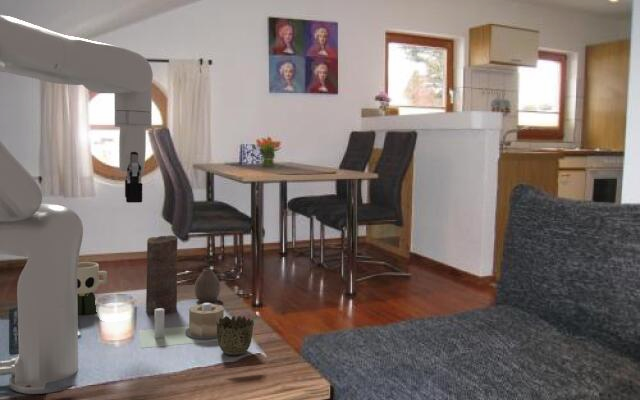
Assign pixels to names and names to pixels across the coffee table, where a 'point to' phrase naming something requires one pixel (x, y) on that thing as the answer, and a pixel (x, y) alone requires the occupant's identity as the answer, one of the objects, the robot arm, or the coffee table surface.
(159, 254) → the brown log
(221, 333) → the fiber plant pot
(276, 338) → the coffee table surface
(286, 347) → the coffee table surface
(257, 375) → the coffee table surface
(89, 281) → the character mug
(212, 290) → the vase
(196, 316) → the collar
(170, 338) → the hub board
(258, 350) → the coffee table surface
